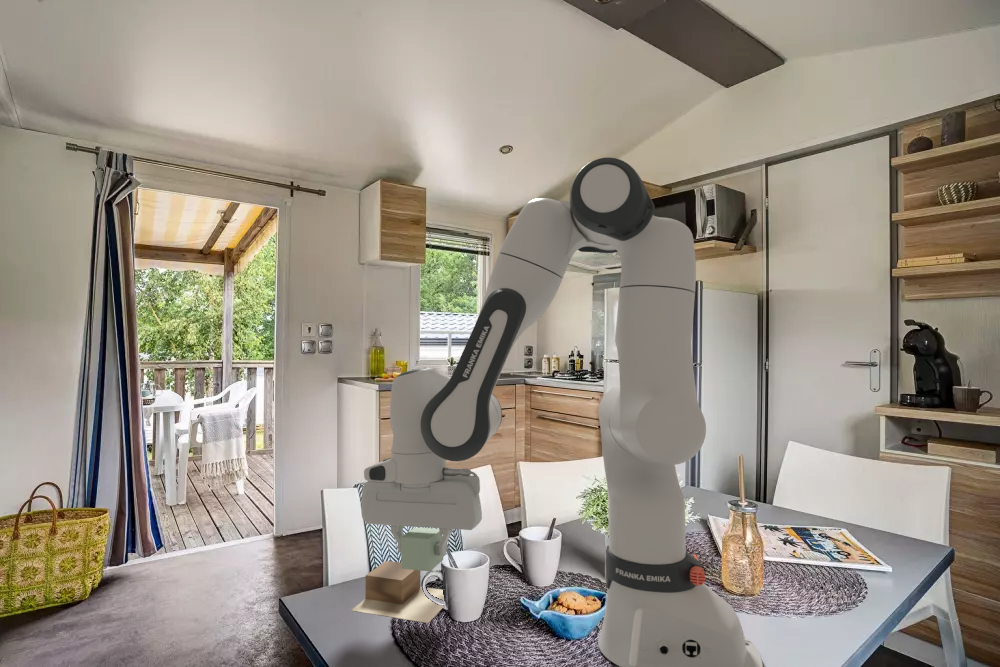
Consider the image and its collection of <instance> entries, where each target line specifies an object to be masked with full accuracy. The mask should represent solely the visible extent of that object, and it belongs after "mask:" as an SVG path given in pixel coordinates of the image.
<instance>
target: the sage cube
mask: <svg viewBox="0 0 1000 667" xmlns="http://www.w3.org/2000/svg"><path fill="white" fill-rule="evenodd" d="M442 536H443V535H440V532H439V528H428V527H413V528H412V529H410V530H409V531H408V532H406V533H404V535H403V536H402V537H401V553H400V558H401V560H400V561H401V562H400V563H402V569H409V570H420V572H423V571H424V572H431V571H432V570H434V569H435V568H436V567H437V566H438V565H439V564H441V562H443V561H444V556H437V555H434V551H435V550H434V544H436V543H437V542H438V541H440V540H441V538H442Z"/></svg>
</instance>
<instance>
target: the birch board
mask: <svg viewBox="0 0 1000 667" xmlns="http://www.w3.org/2000/svg"><path fill="white" fill-rule="evenodd" d="M422 587H423V586H420V589H418V590H417V591H416V592H415V593H414V594H413V595H412V596H411V597H410V598H409V599H407V600H406V601H405V602H404V603H403V604H396V603H389V602H383V601H376V600H370V599H365V598H364V599H363V600H362V601H361V602H359V603H358V604H356V605H355V606H354V607H353V608H352V609H350V612H358V613H364V614H368V615H377V616H381V617H386V618H387V617H388V618H392V619H393V618H394V619H399V620H407V621H412V622H419V623H425V624H429V623H430V622H431V621H432V620H433V619H434V618H435V617H436V616H437V614H439V613H440V612H441V610H442V609H444V607H445V606H440V605H437V604H435V603H434V602H432V601H431V600H430V599H428V598H427V597H426V596H425V594H424V592H423V590H422ZM427 590H428V592H429V593H430V594H431V595H433V596H434V597H437V598H439V599H442V600H443V601H444V595H443V590H444V589H440V588H433V587H427ZM444 602H445V601H444Z"/></svg>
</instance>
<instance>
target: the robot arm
mask: <svg viewBox="0 0 1000 667" xmlns="http://www.w3.org/2000/svg"><path fill="white" fill-rule="evenodd" d="M655 208H656V207H655V203H654V202H653V200H652V198H651V196H650V194H649V192H648V190H647V187H646V186H645V184H644V182H643V180H642V178H641V177H640V175H639V173H638V172H637V171H636V170H635V169H634V168H633V166H631V165H630V164H629V163H627V162H626V161H624V160H622V159H619V158H616V157H601V158H596V159H594V160H592V161H590V162H588V163H587V164H586V165H584V166H583V167H582V168H581V169H580V170H579V171H578V172H577V174H576V175H575V177H574V179H573V181H572V184H571V187H570V192H569V199H567V200H565V201H564V200H562V201H561V200H560V201H559V200H557V199H553V198H550V197H549V198H547V197H539V198H534V199H531V200H529V201H528V202H527V203H526V204H525V205H524V206H523V207H522V209H521V210H520V212H519V213H518V215H517V216H516V218H515V220H514V221H513V223H512V225H511V227H510V229H509V231H508V232H507V234H506V237H505V239H504V240H503V242H502V244H501V248H500V250H499V251H498V254H497V257H496V259H495V262H494V265H493V268H492V271H491V275H490V277H489V280H488V283H487V287H486V289H485V290H486V291H485V294H484V298H483V302H482V303H481V304H482V305H481V308H480V311H479V313H478V314H479V315H478V317H477V320H476V322H475V324H474V327H473V328H472V331H471V333H470V335H469V338H468V339H467V342H466V344H465V347H464V348H463V351H462V353H461V356H460V358H459V360H458V362H457V364H456V366H455V369H454V370H453V373H452V375H451V376H449V375H448V374H445V373H444V372H442V371H441V370H440V369H439V368H437V367H434V366H426V367H422V368H421V367H420V368H416V369H411V370H407V371H404V372H401V373H399V374H398V375H397V376H396V377H394V379H393V381H392V384H391V389H390V402H389V405H390V406H389V421H390V422H389V423H390V427H391V431H392V436H393V437H392V438H393V439H392V444H391V447H390V451H391V455H390V456H391V457H388V458H385V459H384V460H382V461H380V462H376V463H374V464H372V465H369V466H367V467H366V468H364V469H363V478H364V480H365V481H366V482H365V483H364V485H363V487H362V490H361V507H360V508H361V517H362V519H363V521H364V522H365V524H367V525H382V526H390V533H391V535H392V536H393V538H394V540H395V541H396V543H397V552H398V553H399V554H401V537H402V536H403V535H404V534H405V533H404V531H403V529H405V527H413V528H432V529H439V532H440V535H442V538H441V540H440V541H438V542H437V543H436V544H434V550H435V551H434V555H437V556H443V557H445V555H446V554H447V552H448V551H447V550H448V549H447V542H448V541H449V539H450V538H451V535H452V533H453V531H454V530H460V531H461V530H463V531H472V530H474V529H475V528H476V527H477V526H478V525H479V524H480V523H481V521H482V520H483V513H482V504H481V499H480V498H481V497H480V493H481V482H480V481H481V480H480V477H479V476H478V474H477V473H476V472H474V471H472V470H471V469H470V468H466V467H465V468H456V467H455V468H454V467H447V461H450V462H462V461H466V460H468V459H472V458H473V457H475V456H476V455H477V454H479V452H481V451H482V449H483V448H484V446H485V444H486V443H487V442H489V441H490V439H491V438H492V437H493V436H494V435H495V434H496V433H497V431H498V430H499V428H500V426H501V423H502V419H503V409H502V407H501V403H500V401H499V399H498V398H497V396H496V395H495V394H494V393H493V392H494V391H495V390H494V389H495V388H496V385H497V383H498V381H499V379H500V376H501V373H502V371H503V368H504V367H505V365H506V362H507V359H508V358H509V355H510V352H511V351H512V348H513V346H514V345H515V344H516V342H517V340H518V339H520V337H521V336H522V334H523V333H524V332H525V331H526V330H528V329H529V327H530V326H532V325H533V324H534V323H536V322H537V321H539V320H540V319H541V318H542V317H543V316H544V314H545V313H546V311H547V310H548V308H549V307H550V306H551V304H552V302H553V300H554V298H555V297H556V294H557V292H558V290H559V289H560V286H561V284H562V282H563V279H564V276H565V275H566V274H565V273H566V272H567V269H568V266H569V264H570V262H571V260H572V258H573V256H574V255H575V253H577V251H578V252H581V253H600V254H615V253H618V254H619V257H620V266H621V269H620V270H621V272H620V281H619V289H618V290H619V292H618V301H617V312H616V313H617V315H616V323H615V335H614V336H615V337H614V342H615V346H616V349H617V350H616V351H617V359H618V360H617V361H618V371H619V372H618V374H619V384H616V385H615V386H613V387H611V388H610V389H609V390H608V391H607V392H606V393H605V394H604V395H603V396H602V398H601V400H600V403H599V404H598V409H597V410H598V412H597V413H598V414H597V415H598V421H599V426H600V439H601V448H602V458H603V465H604V466H603V468H604V474H605V479H606V488H607V500H608V501H607V502H608V506H607V508H608V513H607V514H608V545H607V546H606V550H605V555H604V577H605V578H604V580H605V586H606V588H607V590H606V600H605V601H606V602H605V610H604V616H603V622H602V627H601V630H600V632H599V633H600V634H599V637H598V640H597V645H598V648H599V650H600V652H601V653H602V654H603V656H604V657H605V658H606V659H607V660H609V661H610V662H612V663H613V664H615V665H616V666H618V667H764V666H763V665H764V664H763V661H762V660H763V659H762V657H761V654H760V651H759V650H758V649H757V646H756V645H755V644H754V643H753V642H752V641H751V640H750V639H749V638H748V637H746V636H745V634H744V630H743V626H742V624H741V621H740V619H739V617H738V615H737V613H736V611H735V609H734V607H732V606H731V604H729V603H728V602H727V601H726V600H725V599H723V598H722V597H720V596H719V595H718V594H717V593H716V592H714V591H713V589H711V588H710V587H708V586H707V585H706V584H705V582H706V574H705V571H704V569H703V568H702V567H701V561H700V560H699V558H698V556H697V555H696V554H695V553H694V554H693V555H692V554H690V553H689V552H687V551H686V550H687V548H686V546H687V545H686V501H685V496H684V493H683V491H682V488H681V486H680V483H679V478H678V473H677V470H676V465H680V464H683V463H685V462H688V461H690V460H691V459H693V457H695V456H696V455H697V454H698V453H699V452H700V450H701V448H702V446H703V444H704V443H705V439H706V434H707V425H706V424H707V423H706V419H705V417H704V413H703V412H702V410H701V407H700V406H699V401H698V397H697V395H698V394H697V387H696V379H695V372H694V371H695V370H694V362H693V353H692V351H693V349H692V341H693V340H692V338H693V324H694V323H693V322H694V313H695V312H694V311H695V298H696V297H695V296H696V283H697V278H696V277H697V266H696V251H695V250H696V248H695V242H694V236H693V233H692V231H691V229H690V227H688V226H687V224H685V223H683V222H681V221H679V220H677V219H674V218H672V217H671V218H669V217H661V216H660V217H659V216H655V215H654V213H655V210H656V209H655Z"/></svg>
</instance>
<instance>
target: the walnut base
mask: <svg viewBox="0 0 1000 667" xmlns="http://www.w3.org/2000/svg"><path fill="white" fill-rule="evenodd" d="M420 587H421V571H420V570H409V569H402V563H401V562H397V561H388V560H385V561H384V562H381V564H380V565H378V566H376V567H374V569H372V570H371V571H370V572H368V573H367V574H365V593H364V594H365V597H364V600H365V599H370V600H376V601H383V602H389V603H396V604H403V603H404V602H405V601H406V600H407V599H409V598H410V597H411V596H412V595H413V594H414V593H415V592H416V591H417V590H418V589H420Z"/></svg>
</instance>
